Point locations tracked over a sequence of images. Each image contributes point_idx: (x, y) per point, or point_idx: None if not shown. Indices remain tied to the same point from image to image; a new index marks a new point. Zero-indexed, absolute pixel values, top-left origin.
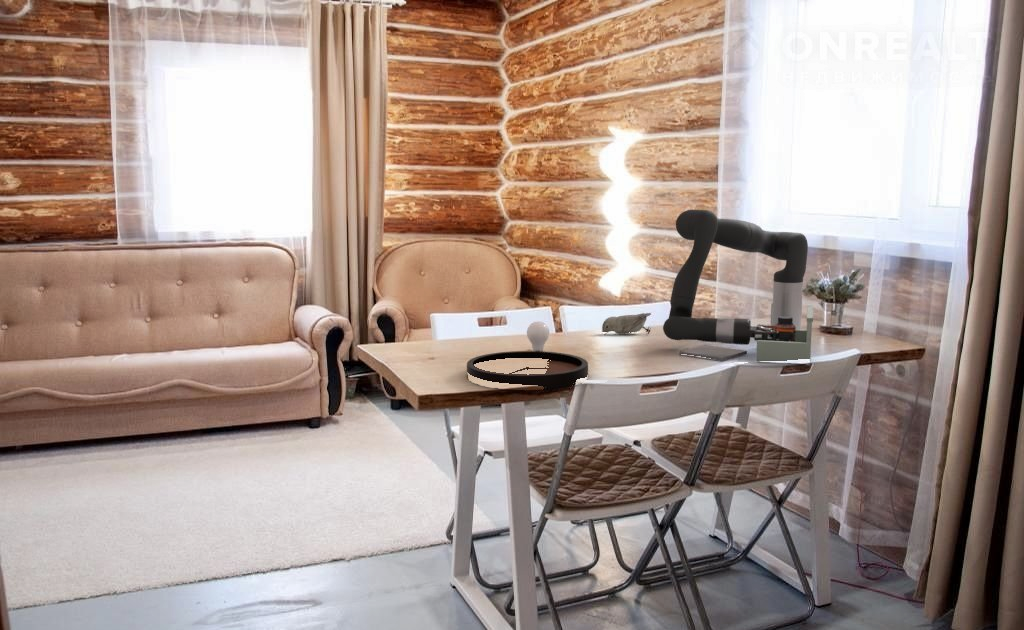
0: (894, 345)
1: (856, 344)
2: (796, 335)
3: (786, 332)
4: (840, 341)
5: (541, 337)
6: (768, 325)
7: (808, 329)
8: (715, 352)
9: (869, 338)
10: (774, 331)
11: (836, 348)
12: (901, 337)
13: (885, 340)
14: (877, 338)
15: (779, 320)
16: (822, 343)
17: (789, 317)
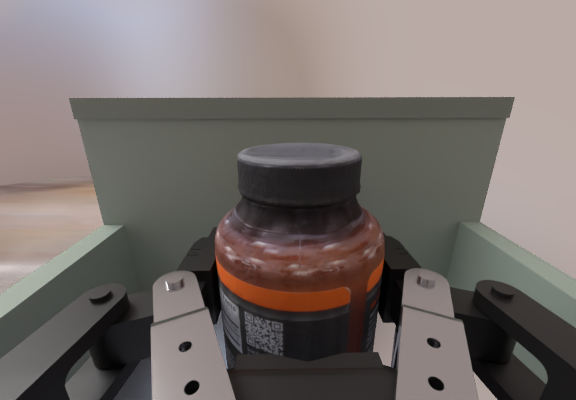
0: None
1: (75, 220)
2: (100, 275)
3: (390, 246)
4: (4, 238)
5: None
6: (181, 344)
7: (490, 157)
8: None
9: (7, 207)
10: (499, 289)
11: None
12: (34, 186)
13: (52, 196)
14: (18, 201)
15: (347, 189)
16: (4, 267)
17: (309, 145)
